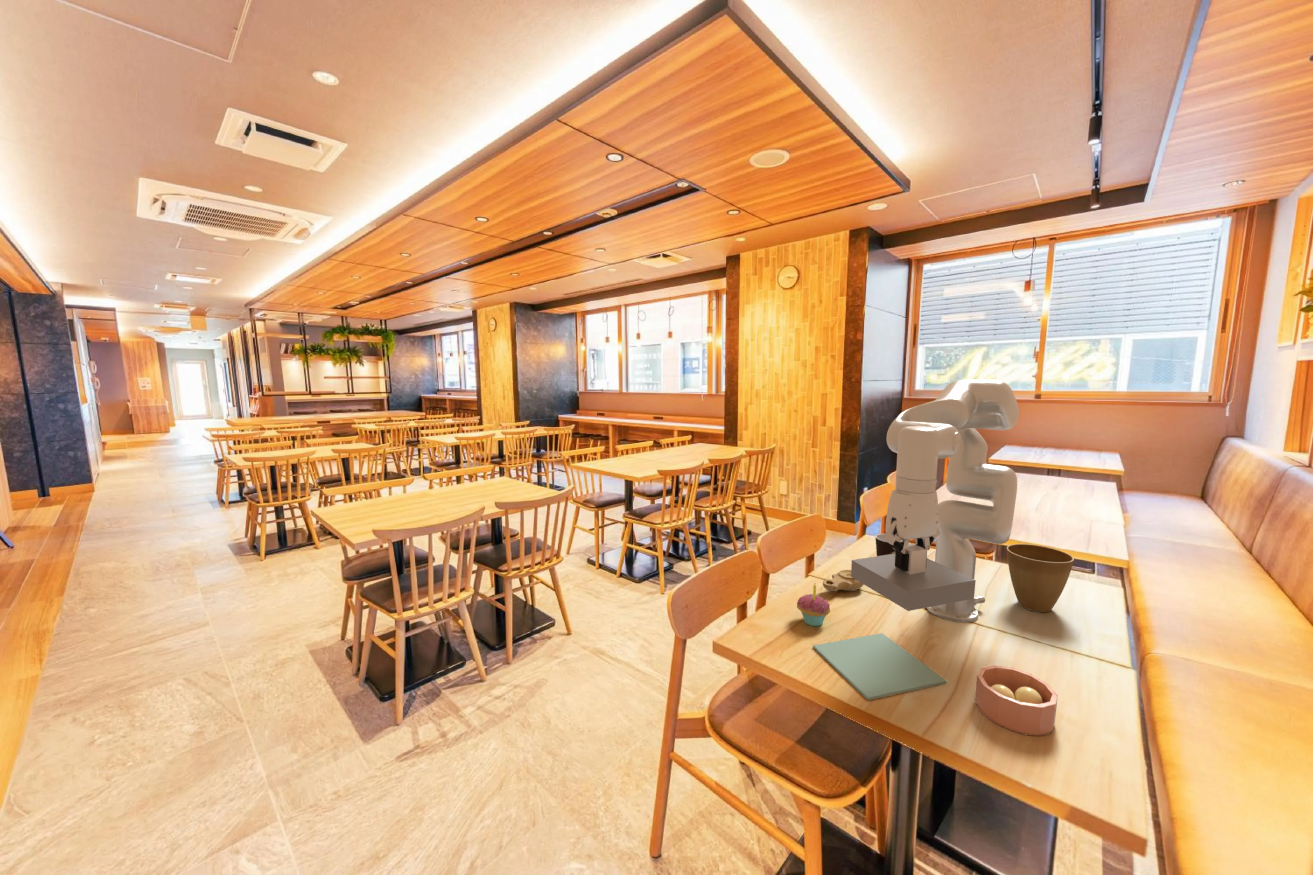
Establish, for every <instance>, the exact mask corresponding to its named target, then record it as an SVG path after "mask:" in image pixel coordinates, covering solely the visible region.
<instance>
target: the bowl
mask: <svg viewBox="0 0 1313 875" xmlns="http://www.w3.org/2000/svg"><path fill="white" fill-rule="evenodd" d="M974 696H975V697H974V698H975V699H974V701H975V703H976V707H977V708H978V710H979V712H981V714H982V715H983V716H985V717H986V718H987V719H988V720H989V721H991V722H992V723H993V724H996V725H998V726H999V727H1001V728H1003V729H1004V730H1008V731H1010V732H1013V731H1014V733H1016V732H1017V733H1016V734H1019V733H1022V734H1021V735H1023V734H1027V735H1026V736H1029V735H1033V736H1032V737H1044V736H1047V735H1049V734H1051V733H1052V732H1053V730H1054V727H1055V722H1056V717H1057V716H1056V715H1057V708H1058V700H1059V698H1058V697H1059V696H1058V693H1057V692H1055V690H1054V689H1053V688H1052V687H1051V686H1050V684H1049V683H1047V682H1045V681H1044V680H1042V679H1041V678H1039V677H1037V676H1036V675H1034V674H1032V673H1029V672H1026V671H1023V670H1020V669H1017V668H1014V667H1011V666H1002V665H995V664H994V665H989V666H984V667H981V668H980V669H979V671H978V673H977V675H976V687H975V695H974Z"/></svg>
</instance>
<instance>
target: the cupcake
mask: <svg viewBox="0 0 1313 875" xmlns="http://www.w3.org/2000/svg"><path fill="white" fill-rule="evenodd" d="M816 591H817V585H816V584H814V585H813V588H812V593H809V594H805V595H802V596H801V597H799V598H798V599H797V602H796V609H798V610H799V611H800V612H801V615H802V617H803V618H802V619H803V622H804V623H805V624H806V625H809V626H813V627H819V626H822V625H823V624H824V621H825V618H826V617H827V616H828V615H829V613H831V606H830V605H831V604H830V602H829V601H828V600H827V599H825V598H824V597H822V596H820V595H817V593H816Z"/></svg>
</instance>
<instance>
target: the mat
mask: <svg viewBox="0 0 1313 875" xmlns="http://www.w3.org/2000/svg"><path fill="white" fill-rule="evenodd" d="M812 648H813V649H814V650H815V651H816V652H817V653H818V654H819V655H820V656H821V657H822V658H823V659H824V660H825V661H826V662H827V663H828V664H829V665H831V666H832V667H833V669H835V670H836V672H838V673H839V674H840V676H842V677H843V678H844V679H845V680H846V681H847V682H849V684H850V685H851V686H853V688H855V689H856V691H858V692H859V693H860V694H861V695H862V697H864V698H865V699H866V700H867V701H870V700H876V699H880V698H884V697H889V696H894V695H898V694H904V693H907V692H912V691H917V690H921V689H927V688H932V687H935V686H941V685H945V684H947V683H948V680H947V679H946V678H944V677H943V676H941V675H940V674H938V673H937V672H936V671H934V670H933V669H932V668H930V667H929V666H927V665H926V664H925V663H924V662H922V661H921V660H919V658H916V656H914V655H913V654H911V653H910V652H909V651H907V650H906V649H904V648H903V647H902V646H900V645H899V644H898V643H896V642H895V641H893V640H892V639H891V638H890V637H888V636H887V635H885V634H884V633H882V632H881V633H875V634H870V635H864V636H858V637H853V638H848V639H841V640H836V641H835V640H834V641H831V642H824V643H819V644H814V645H812Z"/></svg>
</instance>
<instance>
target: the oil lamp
mask: <svg viewBox="0 0 1313 875" xmlns="http://www.w3.org/2000/svg"><path fill="white" fill-rule="evenodd" d="M822 586H823V588H824V589H825V590H827V591H831V592H837V591H839V590H841V591H842V590H843V591H847V592H856V591H857V590H858V589H861V588H862V587H863V586H865V585H864V584H862V583H861V582H859V581H857V580H856V579H854V578H852V577H851V569H842V570H840V571H838V572H836V573H835V574H832V575H831V578H830V579H829V578H823V581H822Z"/></svg>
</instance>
